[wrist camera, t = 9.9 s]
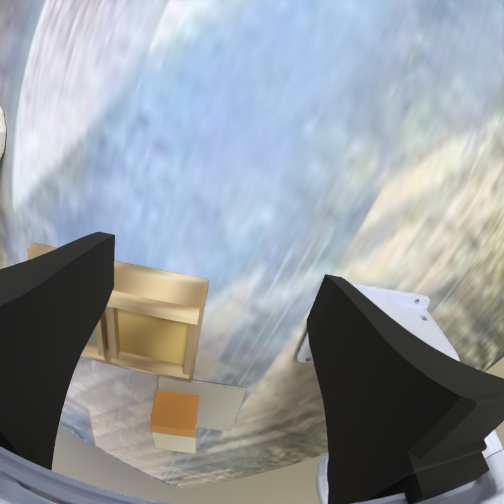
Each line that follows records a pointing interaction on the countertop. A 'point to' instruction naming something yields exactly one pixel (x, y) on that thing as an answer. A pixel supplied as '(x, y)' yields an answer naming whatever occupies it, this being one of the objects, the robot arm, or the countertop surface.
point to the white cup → (2, 132)
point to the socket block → (148, 320)
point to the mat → (209, 400)
